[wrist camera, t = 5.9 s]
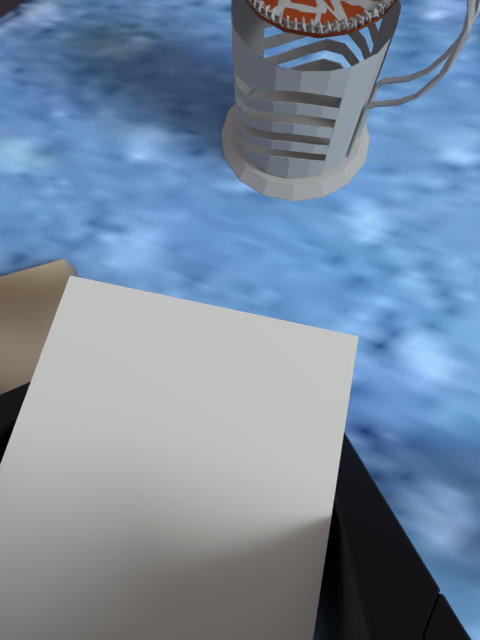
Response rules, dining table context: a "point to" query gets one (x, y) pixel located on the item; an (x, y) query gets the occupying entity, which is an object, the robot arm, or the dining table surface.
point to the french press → (311, 92)
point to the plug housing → (171, 472)
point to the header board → (28, 318)
